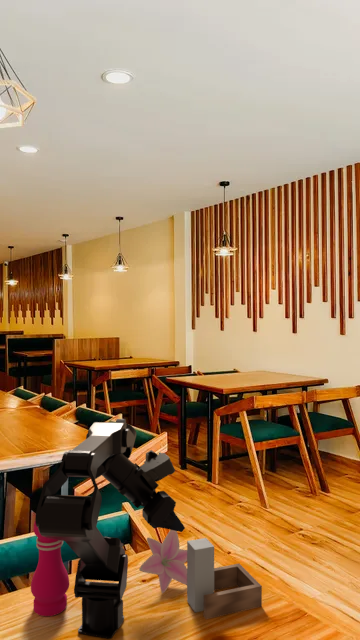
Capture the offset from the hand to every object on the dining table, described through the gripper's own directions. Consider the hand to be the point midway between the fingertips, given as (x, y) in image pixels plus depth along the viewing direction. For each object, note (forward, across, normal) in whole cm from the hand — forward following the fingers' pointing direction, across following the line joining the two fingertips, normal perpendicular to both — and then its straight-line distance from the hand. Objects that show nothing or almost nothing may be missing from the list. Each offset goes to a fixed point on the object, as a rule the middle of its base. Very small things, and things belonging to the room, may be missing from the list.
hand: (175, 520), depth 109 cm
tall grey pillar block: (+11, -8, +8) cm, 16 cm away
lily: (+9, +2, +11) cm, 14 cm away
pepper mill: (-8, +1, +28) cm, 29 cm away
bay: (+15, -8, +5) cm, 17 cm away
